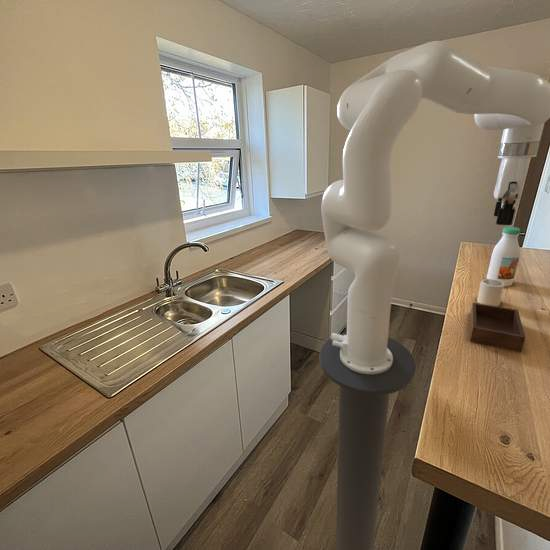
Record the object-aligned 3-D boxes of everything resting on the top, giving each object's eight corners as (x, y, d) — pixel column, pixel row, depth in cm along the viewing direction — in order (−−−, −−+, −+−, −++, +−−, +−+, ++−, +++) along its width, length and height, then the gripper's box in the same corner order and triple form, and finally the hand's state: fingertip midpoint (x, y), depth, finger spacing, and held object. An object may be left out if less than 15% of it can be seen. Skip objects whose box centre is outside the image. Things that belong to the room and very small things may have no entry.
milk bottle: (485, 284, 107) (497, 230, 99) (486, 276, 113) (498, 224, 105) (512, 288, 103) (527, 232, 95) (512, 280, 109) (526, 226, 101)
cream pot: (477, 304, 95) (481, 284, 92) (476, 296, 100) (480, 277, 97) (500, 308, 92) (505, 287, 89) (498, 300, 97) (503, 280, 94)
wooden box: (470, 341, 79) (473, 327, 77) (470, 315, 90) (472, 302, 88) (521, 352, 73) (525, 337, 72) (514, 322, 85) (517, 309, 83)
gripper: (496, 150, 82) (483, 213, 88) (501, 153, 68) (486, 227, 75) (531, 148, 78) (515, 214, 84) (544, 151, 64) (524, 229, 71)
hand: (501, 220), depth 80 cm, fingers open, 9 cm apart
